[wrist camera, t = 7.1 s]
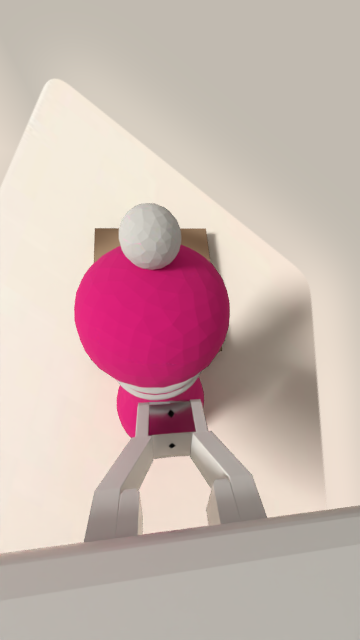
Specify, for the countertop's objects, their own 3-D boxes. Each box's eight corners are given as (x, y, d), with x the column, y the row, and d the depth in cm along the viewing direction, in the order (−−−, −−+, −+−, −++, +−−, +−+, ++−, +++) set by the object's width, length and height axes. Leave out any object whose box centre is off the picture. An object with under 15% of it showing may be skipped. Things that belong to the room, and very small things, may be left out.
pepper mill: (207, 394, 22) (304, 188, 7) (180, 470, 18) (268, 399, 2) (148, 368, 24) (113, 149, 8) (110, 431, 20) (-112, 235, 4)
